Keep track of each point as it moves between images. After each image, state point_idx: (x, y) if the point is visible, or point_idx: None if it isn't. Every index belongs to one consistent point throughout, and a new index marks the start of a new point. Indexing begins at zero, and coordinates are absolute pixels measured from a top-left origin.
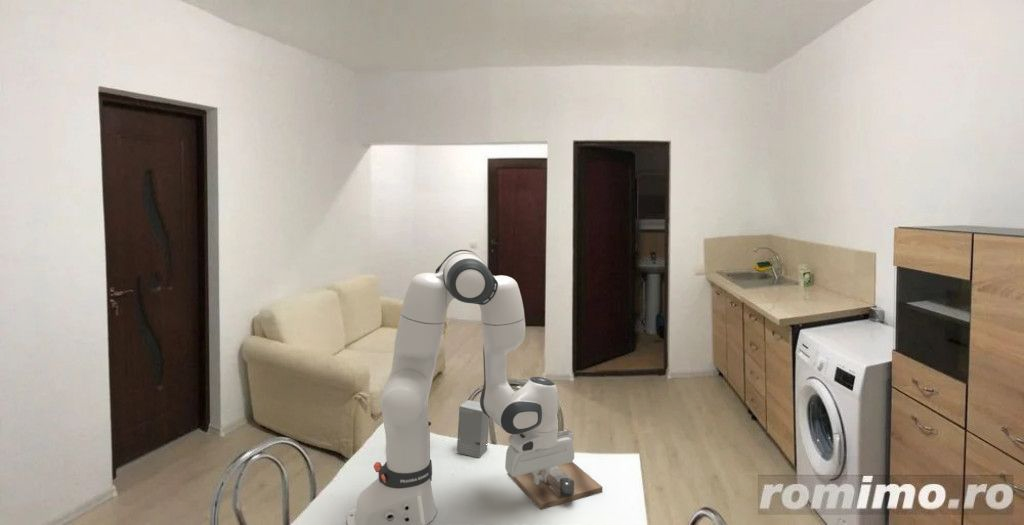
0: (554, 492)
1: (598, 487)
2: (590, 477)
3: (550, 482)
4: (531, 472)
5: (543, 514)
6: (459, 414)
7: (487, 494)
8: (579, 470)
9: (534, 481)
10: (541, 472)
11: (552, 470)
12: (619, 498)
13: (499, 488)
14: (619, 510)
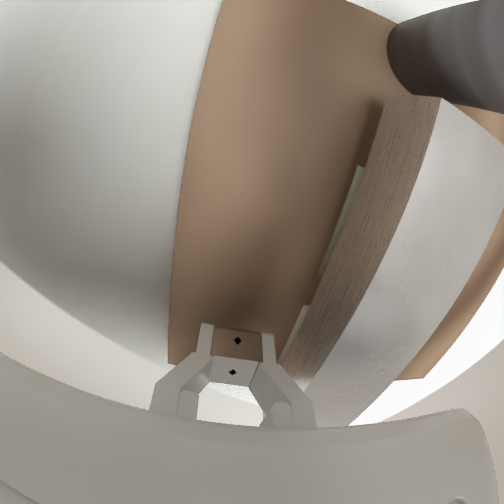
0: (281, 347)
1: (415, 377)
2: (461, 330)
3: (292, 353)
4: (163, 378)
5: (167, 362)
6: None
7: (23, 131)
8: (490, 278)
9: (200, 327)
10: (338, 269)
11: (346, 380)
12: (407, 392)
13: (86, 104)
14: (358, 416)
